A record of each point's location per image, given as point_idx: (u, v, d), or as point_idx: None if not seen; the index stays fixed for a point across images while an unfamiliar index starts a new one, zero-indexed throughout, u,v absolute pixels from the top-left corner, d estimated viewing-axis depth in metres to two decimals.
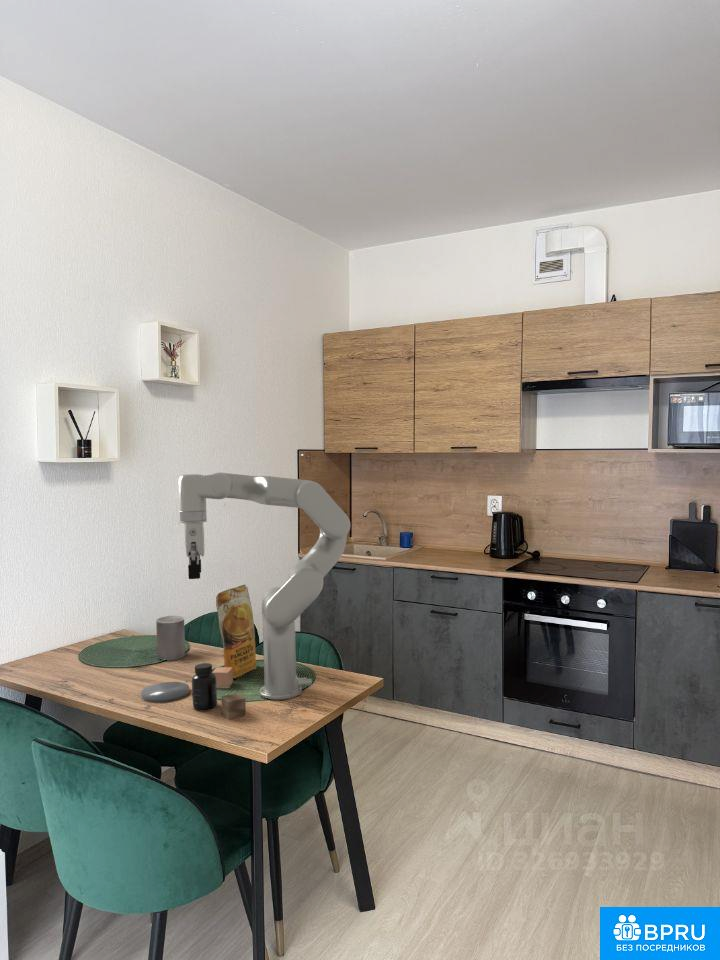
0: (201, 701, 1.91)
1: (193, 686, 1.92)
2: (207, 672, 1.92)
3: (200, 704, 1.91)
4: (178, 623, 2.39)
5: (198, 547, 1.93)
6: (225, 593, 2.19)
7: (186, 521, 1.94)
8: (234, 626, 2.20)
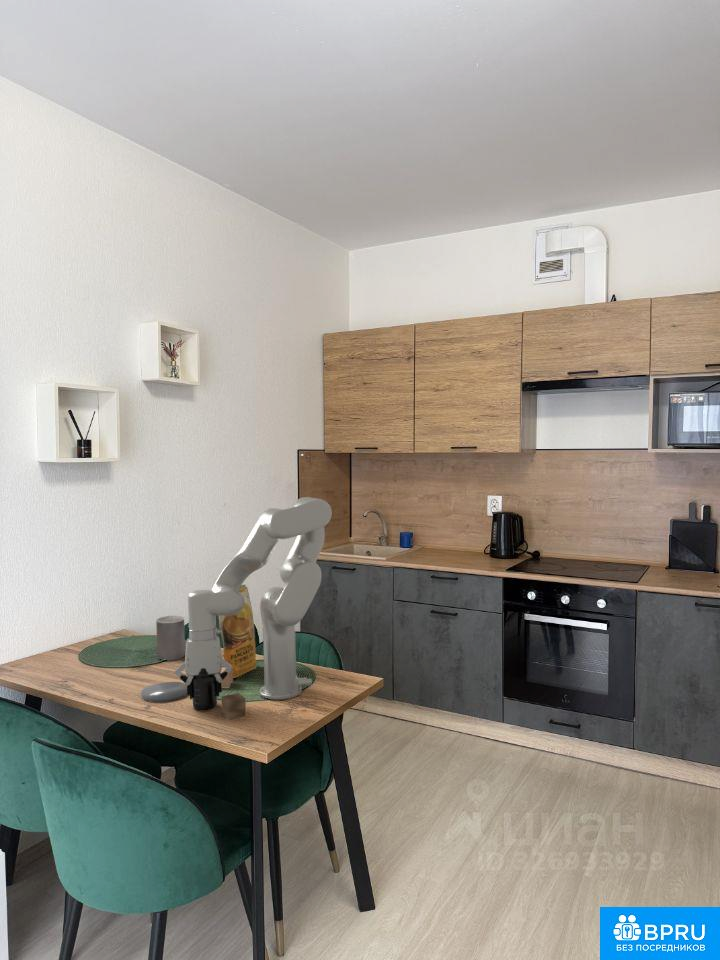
0: (201, 701, 1.91)
1: (193, 686, 1.92)
2: (207, 672, 1.92)
3: (200, 704, 1.91)
4: (178, 623, 2.39)
5: None
6: None
7: (214, 638, 1.92)
8: (234, 626, 2.20)
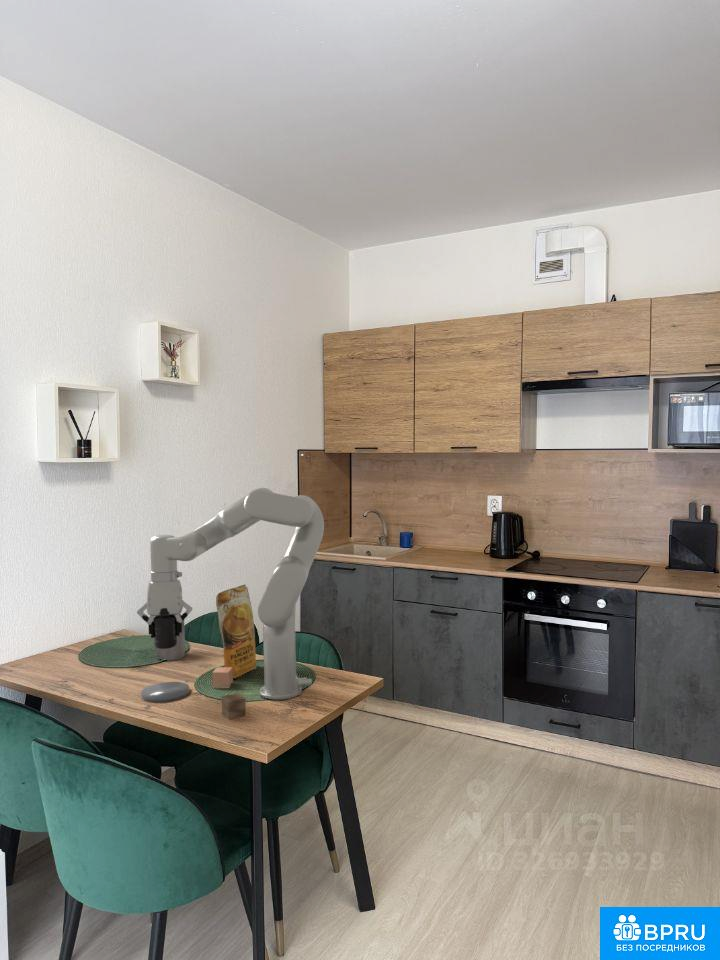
0: (162, 640, 2.00)
1: (154, 625, 2.01)
2: (168, 612, 2.02)
3: (161, 642, 2.00)
4: None
5: None
6: (225, 593, 2.19)
7: (175, 580, 2.02)
8: (234, 626, 2.20)
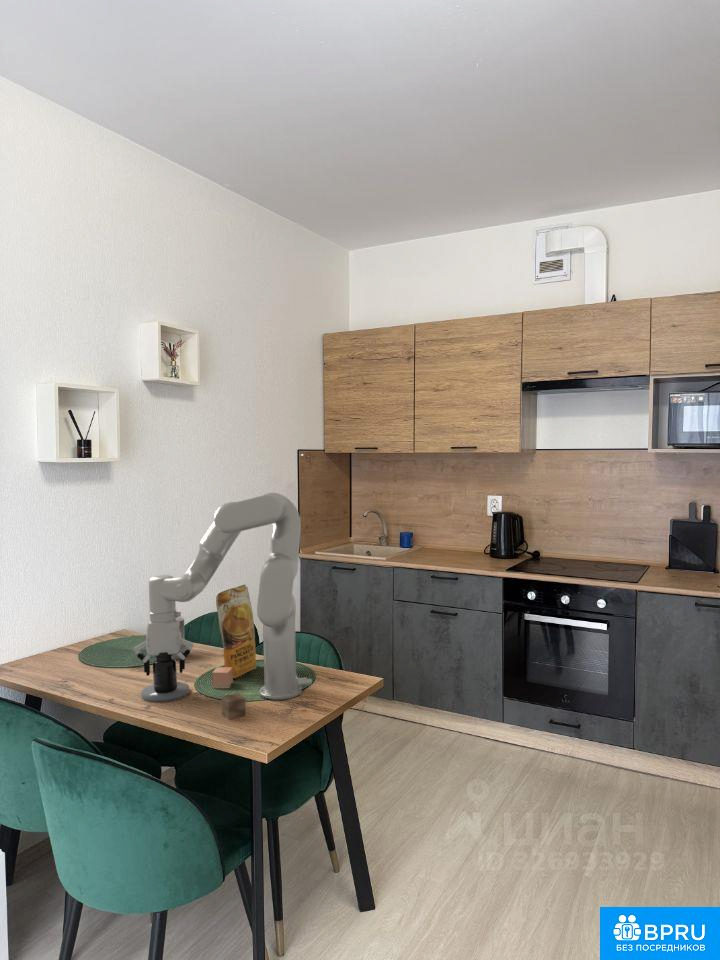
0: (161, 684, 2.02)
1: (154, 670, 2.03)
2: (167, 656, 2.03)
3: (160, 686, 2.02)
4: None
5: None
6: (225, 593, 2.19)
7: (173, 620, 2.03)
8: (234, 626, 2.20)
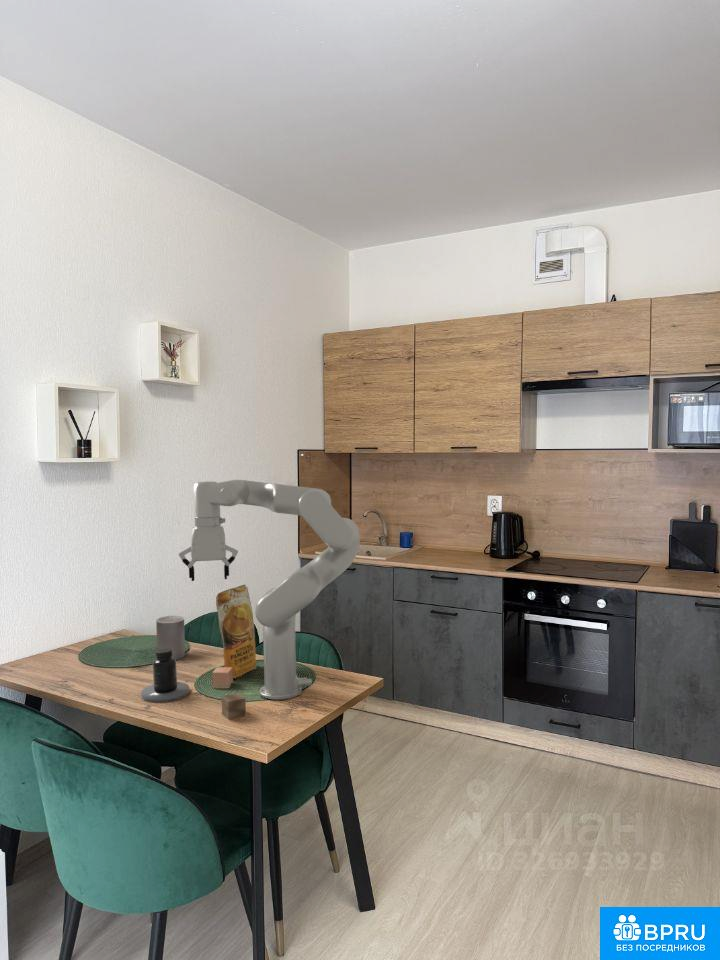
0: (161, 684, 2.02)
1: (154, 670, 2.03)
2: (167, 656, 2.03)
3: (160, 686, 2.02)
4: (178, 623, 2.39)
5: None
6: (225, 593, 2.19)
7: (218, 525, 2.03)
8: (234, 626, 2.20)
